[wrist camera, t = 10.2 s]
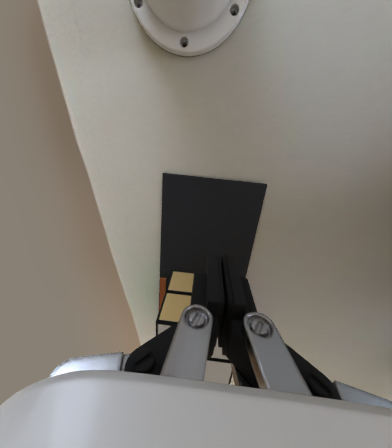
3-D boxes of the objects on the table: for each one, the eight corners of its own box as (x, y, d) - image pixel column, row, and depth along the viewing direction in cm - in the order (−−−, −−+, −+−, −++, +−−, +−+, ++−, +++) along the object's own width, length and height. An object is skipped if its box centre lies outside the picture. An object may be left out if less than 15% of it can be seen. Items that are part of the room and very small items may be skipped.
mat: (163, 173, 25) (162, 173, 24) (266, 184, 24) (267, 184, 24) (158, 323, 35) (158, 325, 34) (231, 332, 34) (232, 335, 34)
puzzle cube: (224, 322, 33) (230, 387, 24) (170, 315, 33) (154, 377, 24) (233, 276, 29) (243, 333, 20) (171, 269, 30) (154, 321, 20)
